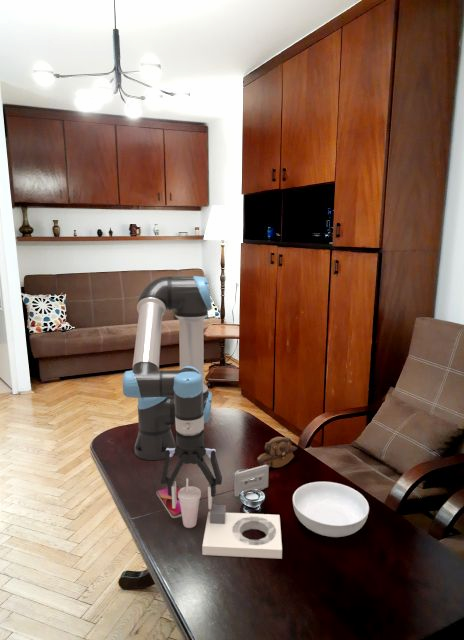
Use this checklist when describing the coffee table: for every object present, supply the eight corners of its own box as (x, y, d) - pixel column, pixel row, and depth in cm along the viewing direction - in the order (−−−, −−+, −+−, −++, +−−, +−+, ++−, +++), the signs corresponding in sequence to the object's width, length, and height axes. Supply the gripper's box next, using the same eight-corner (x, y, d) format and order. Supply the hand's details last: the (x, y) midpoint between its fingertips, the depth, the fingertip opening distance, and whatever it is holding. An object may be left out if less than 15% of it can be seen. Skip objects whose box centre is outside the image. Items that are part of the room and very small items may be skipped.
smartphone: (177, 484, 143) (196, 509, 130) (177, 487, 143) (196, 512, 131) (155, 490, 140) (172, 517, 127) (155, 493, 140) (172, 520, 127)
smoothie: (178, 516, 128) (177, 472, 125) (201, 515, 128) (200, 471, 126) (177, 531, 122) (177, 485, 119) (201, 530, 122) (201, 484, 119)
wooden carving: (264, 476, 149) (265, 449, 147) (255, 470, 153) (256, 443, 151) (299, 461, 159) (300, 435, 157) (289, 456, 163) (290, 430, 161)
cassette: (236, 498, 137) (236, 475, 136) (233, 495, 139) (233, 472, 137) (269, 488, 143) (269, 466, 141) (266, 485, 144) (266, 463, 143)
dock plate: (208, 519, 127) (208, 502, 126) (279, 522, 126) (279, 505, 125) (202, 554, 113) (202, 535, 112) (281, 558, 112) (282, 539, 111)
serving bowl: (369, 509, 132) (370, 488, 131) (365, 557, 113) (367, 532, 112) (299, 495, 139) (300, 475, 138) (284, 538, 120) (285, 515, 118)
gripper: (145, 435, 116) (150, 513, 121) (230, 437, 115) (231, 515, 120) (152, 423, 124) (156, 497, 128) (231, 424, 122) (232, 498, 127)
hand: (192, 505), depth 124 cm, fingers open, 9 cm apart
